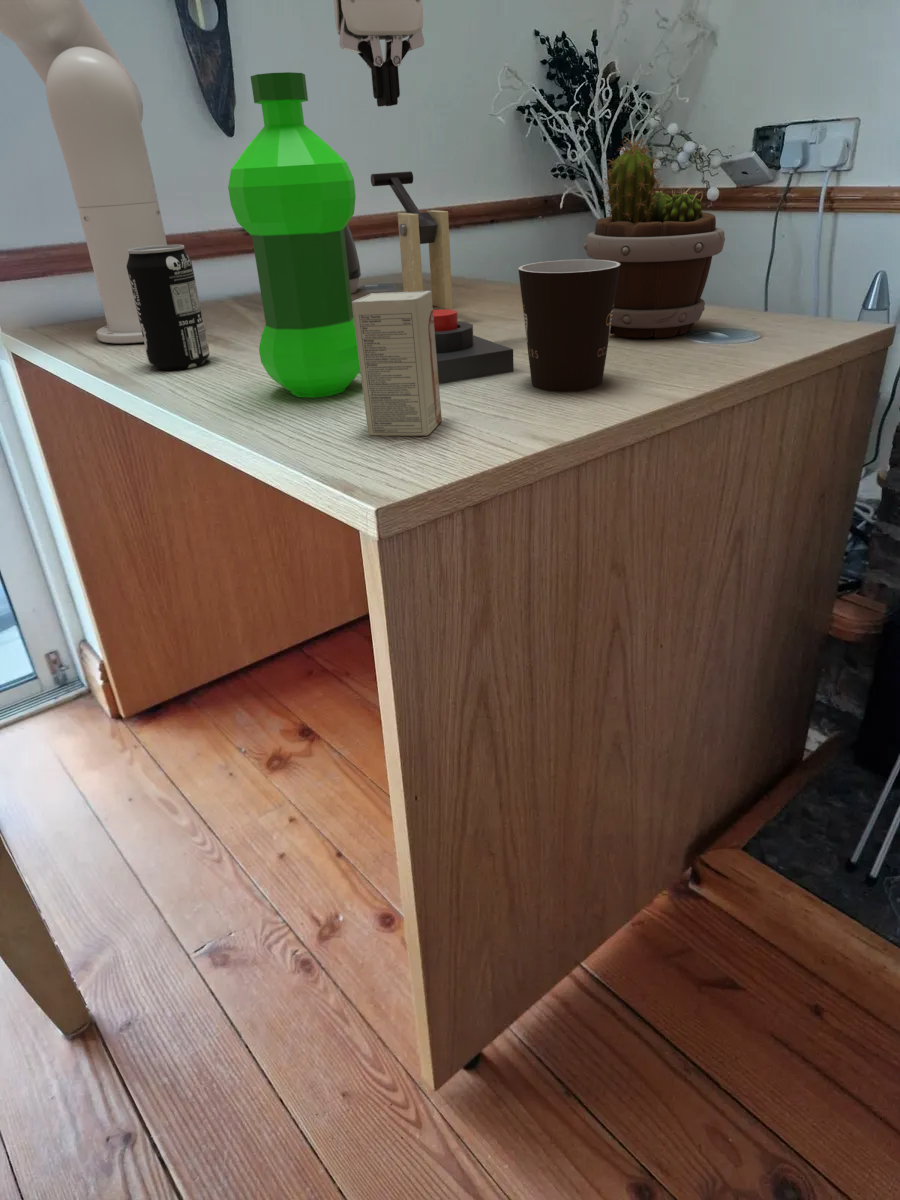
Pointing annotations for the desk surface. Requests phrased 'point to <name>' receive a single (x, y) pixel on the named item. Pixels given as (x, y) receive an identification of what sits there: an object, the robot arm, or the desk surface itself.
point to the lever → (407, 201)
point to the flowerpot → (653, 249)
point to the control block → (469, 355)
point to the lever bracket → (437, 254)
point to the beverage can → (168, 306)
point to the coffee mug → (568, 321)
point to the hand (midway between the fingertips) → (387, 105)
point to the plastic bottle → (298, 242)
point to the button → (445, 320)
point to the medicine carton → (398, 362)
